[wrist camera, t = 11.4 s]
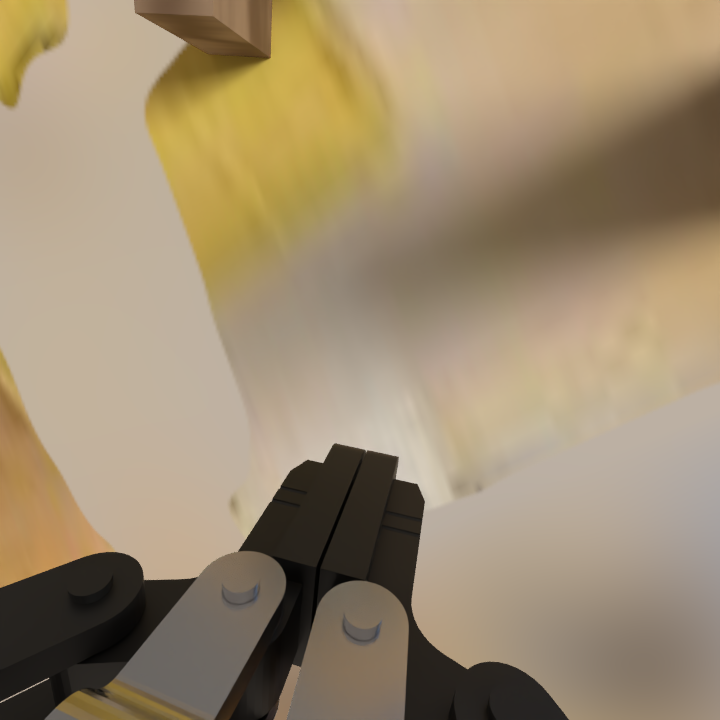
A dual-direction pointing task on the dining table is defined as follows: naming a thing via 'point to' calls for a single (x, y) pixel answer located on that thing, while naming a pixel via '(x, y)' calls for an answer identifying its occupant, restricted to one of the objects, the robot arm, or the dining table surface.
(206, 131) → the dining table surface
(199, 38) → the walnut block
